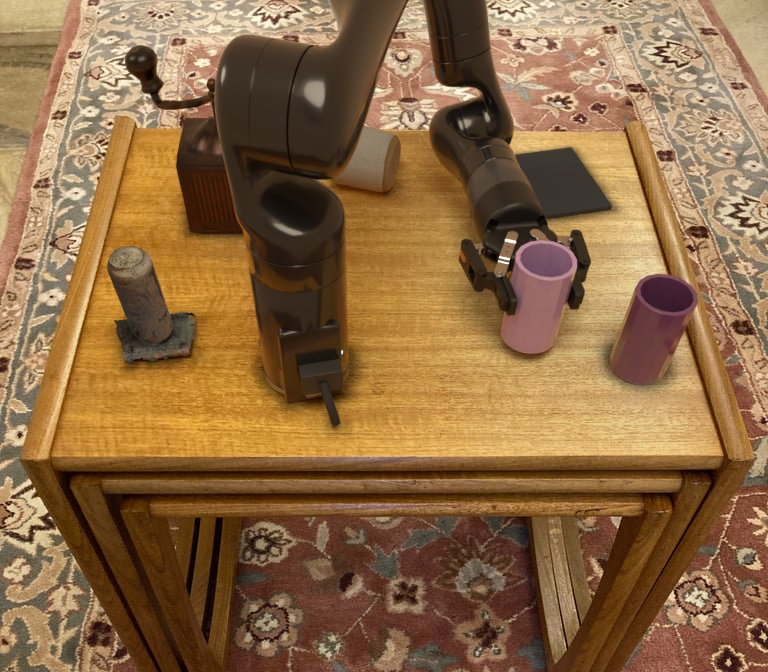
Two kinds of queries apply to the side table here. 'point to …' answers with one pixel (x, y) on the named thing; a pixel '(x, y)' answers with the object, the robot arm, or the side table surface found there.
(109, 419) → the side table surface
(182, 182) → the manual coffee grinder
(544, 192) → the placemat
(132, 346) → the grey post on base
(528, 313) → the lilac cup
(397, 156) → the ceramic mug
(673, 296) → the plum cup
